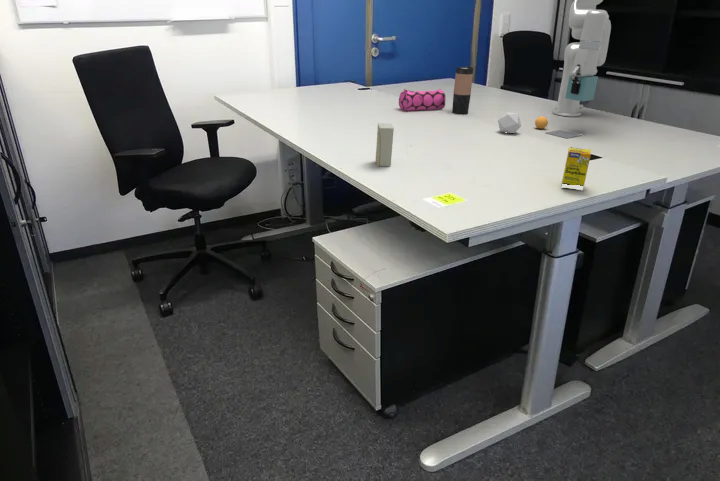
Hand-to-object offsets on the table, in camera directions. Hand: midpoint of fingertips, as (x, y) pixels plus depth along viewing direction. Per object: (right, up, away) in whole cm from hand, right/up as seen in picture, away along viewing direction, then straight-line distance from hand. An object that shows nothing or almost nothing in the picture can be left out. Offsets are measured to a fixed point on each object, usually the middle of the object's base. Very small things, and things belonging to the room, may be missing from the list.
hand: (580, 92), depth 215 cm
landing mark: (-6, -16, +2) cm, 17 cm away
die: (-28, -16, +1) cm, 32 cm away
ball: (-13, -10, +9) cm, 18 cm away
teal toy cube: (0, -2, +1) cm, 3 cm away
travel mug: (-41, 0, +34) cm, 54 cm away
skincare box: (-80, -34, -43) cm, 97 cm away
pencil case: (-58, +2, +38) cm, 70 cm away
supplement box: (-26, -43, -58) cm, 77 cm away
